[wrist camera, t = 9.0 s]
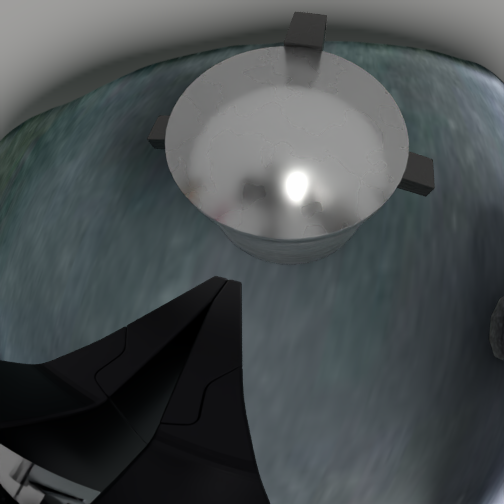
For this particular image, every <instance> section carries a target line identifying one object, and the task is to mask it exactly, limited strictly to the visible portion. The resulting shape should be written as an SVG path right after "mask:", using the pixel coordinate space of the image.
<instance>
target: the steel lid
mask: <svg viewBox="0 0 504 504" xmlns="http://www.w3.org/2000/svg"><path fill="white" fill-rule="evenodd" d="M326 23H327V16H326V15H320V14H312V13H303V12H295V13H294V16H293V18H292V21H291V24H290V27H289V29H288V32H287V35H286V38H285V41H284V47H269V48H262V49H257V50H252V51H248V52H245V53H241V54H238V55H236V56H233V57H231V58H228V59H226V60H224V61H222V62H220V63H218V64H216V65H215V66H213V67H212V68H210V69H208V70H207V71H205V72H204V73H203V74H202V75H200V76H199V77H198V78H197V79H196V80H195V81H194V82H193V83H192V84H191V85H190V86H189V87H188V88H187V89H186V90H185V91H184V93H183V94H182V95H181V97H180V98H179V100H178V101H177V103H176V105H175V106H174V108H173V111H172V113H171V115H170V118H169V121H168V125H167V129H166V136H165V151H166V158H167V162H168V166H169V169H170V171H171V174H172V176H173V178H174V180H175V182H176V183H177V185H178V187H179V188H180V190H181V191H182V192H183V194H184V195H185V196H186V197H187V198H188V199H189V200H190V201H191V202H192V203H193V205H194V206H195V207H196V208H197V209H198V210H199V211H200V212H201V213H203V214H204V215H205V216H206V217H208V218H209V219H210V220H211V221H213V222H215V223H216V224H218V225H220V226H221V227H223V228H225V229H227V230H229V231H232V232H234V233H236V234H239V235H241V236H244V237H248V238H251V239H255V240H259V241H265V242H272V243H286V244H298V243H307V242H316V241H320V240H324V239H328V238H332V237H335V236H338V235H340V234H343V233H345V232H348V231H350V230H352V229H353V228H355V227H357V226H359V225H360V224H362V223H364V222H365V221H366V220H368V219H369V218H370V217H371V216H373V215H374V214H375V213H376V212H377V211H378V210H379V209H380V208H381V207H382V206H383V205H384V203H385V202H386V201H387V200H388V199H389V198H390V196H391V195H392V194H393V192H394V191H395V189H396V188H397V186H398V184H399V183H400V181H401V179H402V176H403V174H404V171H405V169H406V165H407V160H408V152H409V140H408V133H407V128H406V124H405V121H404V118H403V116H402V113H401V111H400V109H399V107H398V105H397V104H396V102H395V101H394V99H393V98H392V96H391V95H390V94H389V92H388V91H387V90H386V89H385V88H384V86H383V85H382V84H381V83H380V82H378V81H377V80H376V79H375V78H374V77H373V76H372V75H370V74H369V73H368V72H366V71H365V70H364V69H362V68H360V67H359V66H357V65H355V64H354V63H352V62H350V61H348V60H346V59H344V58H341V57H339V56H336V55H333V54H331V53H327V52H324V51H323V48H324V41H325V34H326Z"/></svg>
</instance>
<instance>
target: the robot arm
mask: <svg viewBox="0 0 504 504" xmlns="http://www.w3.org/2000/svg"><path fill="white" fill-rule="evenodd" d="M0 504H270V501H269V499H268V496H267V494H266V491H265V489H264V486H263V483H262V481H261V478H260V474H259V471H258V467H257V463H256V459H255V454H254V450H253V445H252V440H251V435H250V430H249V425H248V420H247V415H246V409H245V402H244V393H243V369H242V284H241V282H238V281H234V280H227V279H226V278H222V277H218V276H214V277H212V278H211V279H209V280H207V281H205V282H204V283H202V284H200V285H198V286H196V287H195V288H193V289H191V290H189V291H187V292H186V293H184V294H182V295H180V296H179V297H177V298H175V299H173V300H171V301H170V302H168V303H166V304H164V305H163V306H161V307H159V308H157V309H155V310H154V311H152V312H150V313H148V314H146V315H145V316H143V317H141V318H139V319H137V320H136V321H134V322H132V323H130V324H129V325H127V327H123V328H121V329H119V330H118V331H116V332H114V333H112V334H110V335H108V336H106V337H104V338H102V339H101V340H98V341H96V342H94V343H92V344H90V345H87V346H85V347H83V348H81V349H78V350H76V351H74V352H71V353H69V354H66V355H64V356H62V357H59V358H57V359H54V360H52V361H49V362H46V363H42V364H22V363H15V362H8V361H1V360H0Z"/></svg>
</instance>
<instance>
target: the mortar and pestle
mask: <svg viewBox="0 0 504 504" xmlns="http://www.w3.org/2000/svg"><path fill="white" fill-rule="evenodd" d="M489 341H490V344H491V347H492V350H493V354H494V357H497V358H499V359H501V360H504V296H503V297H502V298H500V299H499V301H498V303H497V305H496V307H495V309H494V312H493V314H492V316H491V323H490V334H489Z"/></svg>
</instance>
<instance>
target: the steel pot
mask: <svg viewBox="0 0 504 504" xmlns="http://www.w3.org/2000/svg"><path fill="white" fill-rule="evenodd" d="M169 118H170V116H159V117H158V118H157V120H156V122H155V124H154V126H153V128H152V130H151V132H150V134H149V136H148V138H147V140H148V141H149V142H150V143H151V145H152V146H153V147H154V148H155V149H165V136H166V129H167V125H168V121H169ZM397 188H399V189H403V190H406V191H410V192H413V193H416V194H419V195H423V196H427V195H428V194H429V193H430V192H431V191H432V190H433V189H434V170H433V159H430V158H427V157H424V156H421V155H418V154H415V153H412V152H408V160H407V165H406V169H405V171H404V174H403V176H402V179H401V181H400V183H399V184H398V186H397ZM360 225H361V224H360ZM360 225H359V226H360ZM218 226H219V227H220V228H221V230H222V231H223V232H224V233H225V235H226V236H227V237H228V238H229V239H230V240H231V241H232V242H233V243H234V244H235V245H236V246H237V247H239V248H240V249H241V250H243V251H244V252H246V253H248V254H249V255H251V256H253V257H256V258H258V259H260V260H264V261H267V262H271V263H276V264H286V265H295V264H304V263H309V262H313V261H317V260H319V259H322V258H324V257H326V256H328V255H330V254H332V253H334V252H335V251H337V250H338V249H339V248H341V247H342V246H343V245H344V244H345V243H346V242H347V241H348V240H349V239H350V238H351V237H352V236H353V234H354V233H355V232H356V230H357V229H358V228H359V226H357V227H355V228H353V229H352V230H350V231H348V232H345V233H343V234H340V235H338V236H335V237H332V238H328V239H324V240H320V241H316V242H307V243H298V244H286V243H272V242H265V241H259V240H255V239H251V238H248V237H244V236H241V235H239V234H236V233H234V232H232V231H229V230H227V229H225V228H223V227H221V226H220V225H218Z"/></svg>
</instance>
